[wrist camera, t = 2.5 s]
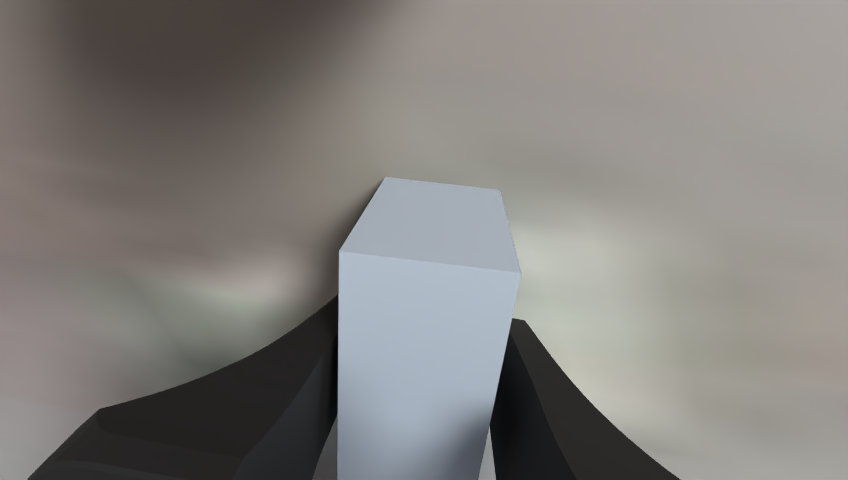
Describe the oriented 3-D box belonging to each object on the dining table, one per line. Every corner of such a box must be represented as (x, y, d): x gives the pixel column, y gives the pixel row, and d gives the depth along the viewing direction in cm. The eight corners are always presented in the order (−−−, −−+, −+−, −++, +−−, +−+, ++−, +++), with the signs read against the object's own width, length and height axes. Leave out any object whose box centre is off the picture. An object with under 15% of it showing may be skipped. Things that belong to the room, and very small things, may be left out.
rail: (499, 187, 12) (521, 273, 7) (450, 477, 17) (445, 635, 12) (386, 175, 12) (339, 251, 7) (370, 466, 17) (336, 618, 12)
